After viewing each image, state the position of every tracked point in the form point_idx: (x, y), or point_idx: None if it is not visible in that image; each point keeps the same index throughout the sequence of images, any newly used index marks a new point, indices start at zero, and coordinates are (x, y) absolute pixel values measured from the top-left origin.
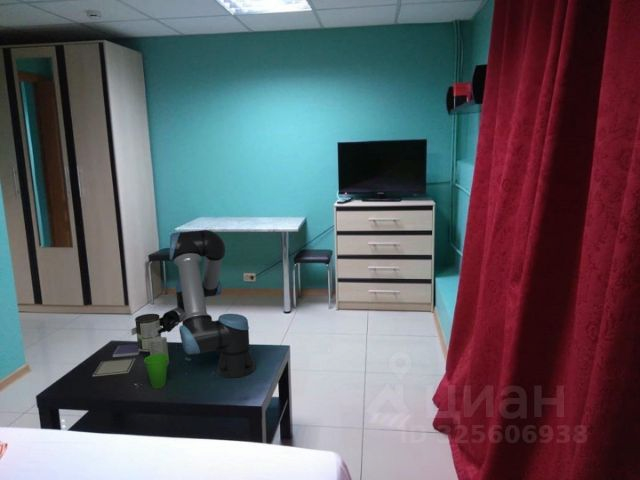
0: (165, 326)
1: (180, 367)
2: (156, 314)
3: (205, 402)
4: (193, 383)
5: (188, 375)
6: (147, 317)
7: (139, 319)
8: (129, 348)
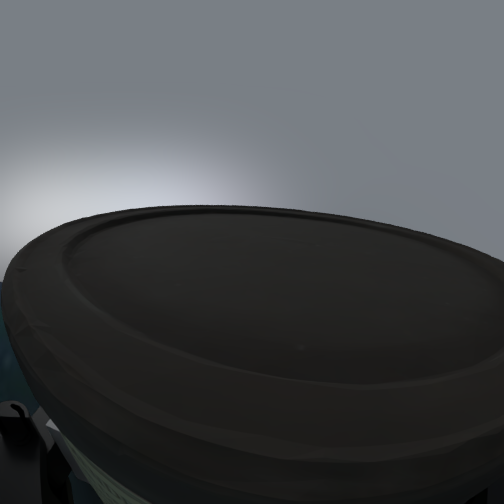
0: (2, 436)
1: (21, 397)
2: (157, 374)
3: (2, 283)
4: (2, 321)
5: (4, 350)
6: (308, 243)
7: (348, 227)
8: None
